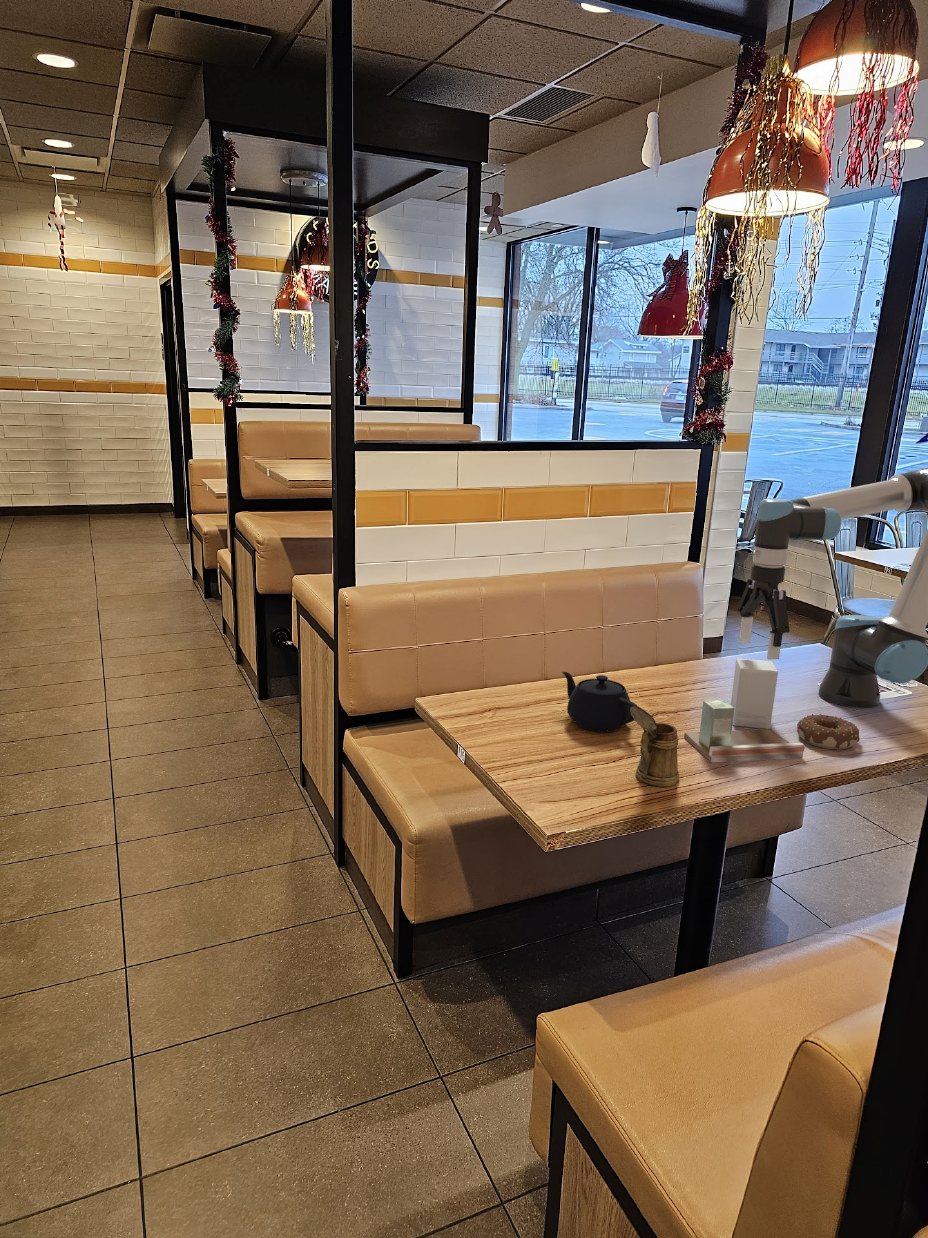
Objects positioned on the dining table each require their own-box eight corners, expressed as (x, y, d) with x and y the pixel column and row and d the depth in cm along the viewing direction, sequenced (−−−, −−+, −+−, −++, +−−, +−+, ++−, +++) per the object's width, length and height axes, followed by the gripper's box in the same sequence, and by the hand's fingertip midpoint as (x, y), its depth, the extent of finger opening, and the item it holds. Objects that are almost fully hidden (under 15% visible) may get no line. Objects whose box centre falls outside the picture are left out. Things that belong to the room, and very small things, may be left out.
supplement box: (771, 730, 202) (779, 671, 199) (732, 726, 204) (740, 668, 200) (765, 716, 211) (773, 660, 207) (729, 713, 213) (735, 657, 209)
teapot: (656, 732, 199) (661, 684, 196) (612, 747, 190) (616, 696, 186) (581, 701, 218) (585, 656, 215) (537, 713, 209) (540, 666, 205)
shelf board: (769, 733, 200) (771, 721, 199) (803, 758, 187) (805, 745, 186) (684, 737, 196) (685, 724, 195) (711, 763, 183) (713, 749, 182)
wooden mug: (611, 780, 173) (618, 699, 168) (654, 765, 181) (661, 686, 176) (645, 797, 166) (653, 712, 161) (687, 780, 174) (696, 699, 169)
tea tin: (719, 740, 192) (723, 700, 189) (729, 750, 187) (734, 708, 184) (698, 741, 191) (703, 700, 188) (708, 751, 186) (713, 709, 183)
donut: (860, 757, 189) (864, 736, 188) (796, 746, 193) (799, 726, 192) (855, 734, 202) (858, 715, 201) (795, 725, 206) (798, 706, 205)
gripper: (729, 554, 208) (720, 636, 214) (782, 575, 185) (770, 666, 190) (756, 554, 210) (747, 635, 215) (813, 575, 186) (800, 665, 192)
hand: (758, 650), depth 203 cm, fingers open, 13 cm apart
